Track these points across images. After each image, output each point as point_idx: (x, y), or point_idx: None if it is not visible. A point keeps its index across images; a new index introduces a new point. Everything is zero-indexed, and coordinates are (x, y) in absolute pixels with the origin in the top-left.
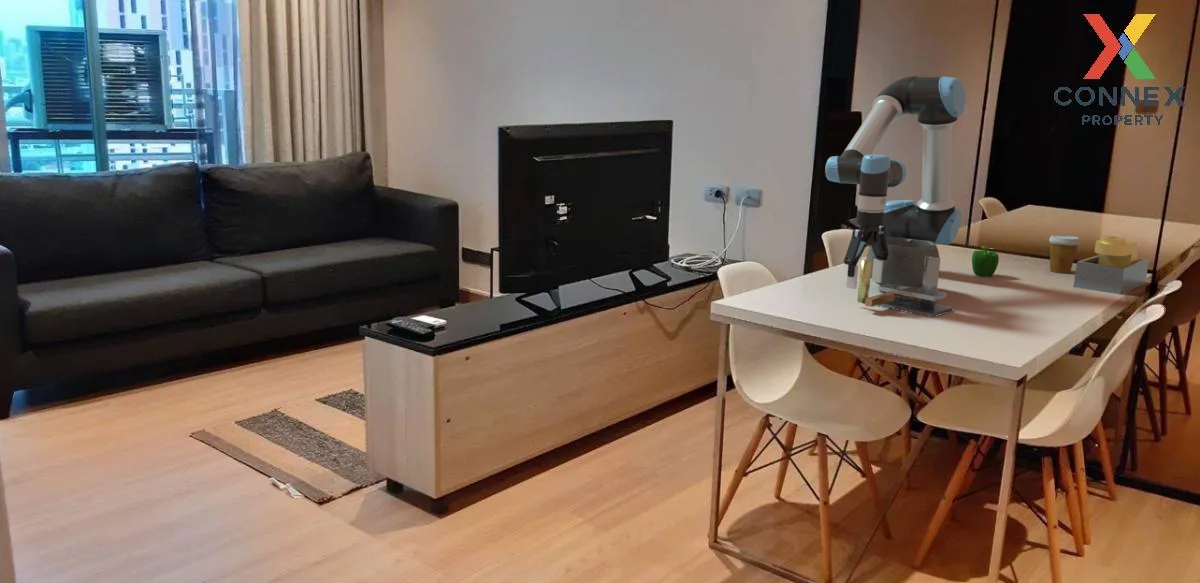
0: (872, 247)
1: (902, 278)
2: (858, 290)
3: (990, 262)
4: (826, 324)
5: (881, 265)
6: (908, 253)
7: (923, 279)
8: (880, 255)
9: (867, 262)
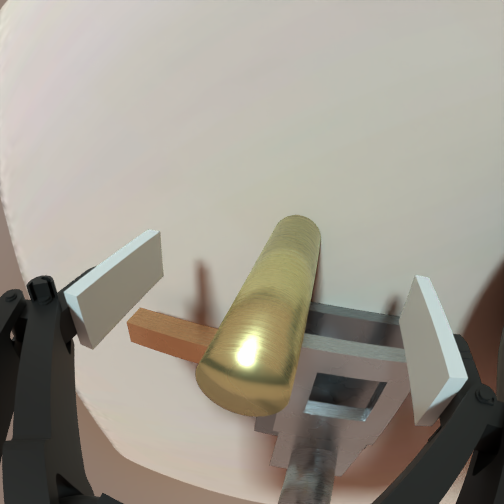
0: (388, 494)
1: (497, 372)
2: (270, 240)
3: None
4: (25, 256)
5: (413, 396)
6: None
7: (288, 486)
8: (421, 450)
9: (208, 392)
